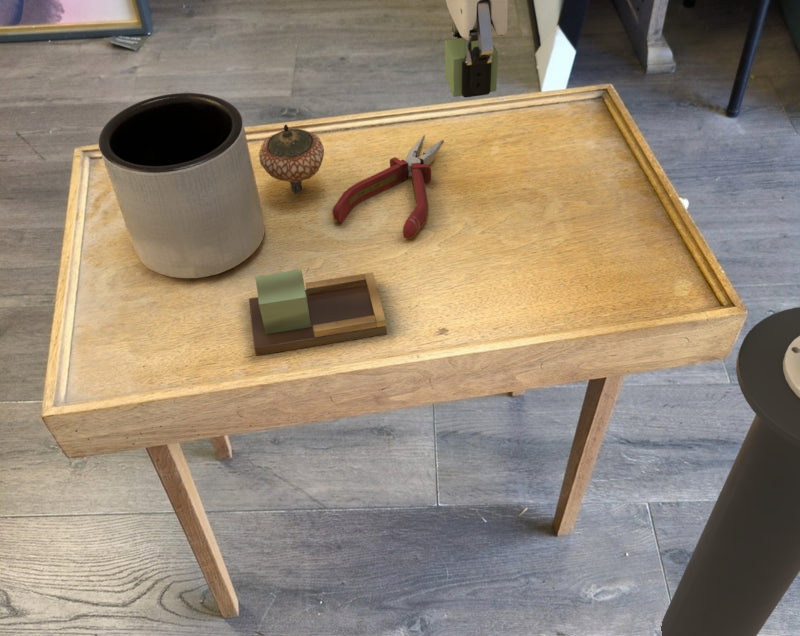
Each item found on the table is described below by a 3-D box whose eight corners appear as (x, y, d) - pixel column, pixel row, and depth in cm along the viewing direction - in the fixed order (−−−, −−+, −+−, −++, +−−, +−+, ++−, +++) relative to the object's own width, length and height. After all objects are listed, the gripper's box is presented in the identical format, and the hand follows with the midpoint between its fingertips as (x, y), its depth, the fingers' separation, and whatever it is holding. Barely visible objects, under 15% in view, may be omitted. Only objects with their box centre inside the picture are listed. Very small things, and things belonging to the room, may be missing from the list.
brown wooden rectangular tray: (387, 334, 91) (384, 295, 87) (256, 355, 90) (246, 318, 86) (374, 286, 96) (371, 247, 92) (250, 306, 95) (241, 267, 91)
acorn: (296, 166, 112) (285, 98, 105) (342, 188, 109) (334, 119, 101) (253, 196, 108) (238, 128, 101) (299, 220, 105) (288, 150, 97)
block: (445, 77, 97) (445, 39, 94) (487, 71, 98) (488, 34, 94) (453, 97, 94) (453, 59, 91) (496, 91, 95) (498, 53, 91)
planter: (121, 227, 106) (80, 116, 94) (239, 187, 110) (214, 76, 98) (159, 302, 96) (119, 189, 84) (287, 255, 101) (265, 142, 89)
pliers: (473, 154, 112) (473, 137, 110) (413, 244, 101) (413, 227, 99) (395, 138, 116) (394, 121, 114) (329, 223, 104) (327, 206, 102)
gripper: (535, -61, 77) (521, 117, 91) (491, -125, 88) (485, 44, 102) (455, -52, 76) (454, 127, 90) (421, -117, 87) (424, 51, 101)
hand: (470, 81), depth 96 cm, fingers closed on block, 4 cm apart
